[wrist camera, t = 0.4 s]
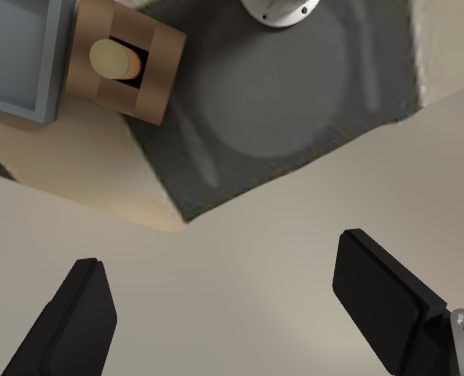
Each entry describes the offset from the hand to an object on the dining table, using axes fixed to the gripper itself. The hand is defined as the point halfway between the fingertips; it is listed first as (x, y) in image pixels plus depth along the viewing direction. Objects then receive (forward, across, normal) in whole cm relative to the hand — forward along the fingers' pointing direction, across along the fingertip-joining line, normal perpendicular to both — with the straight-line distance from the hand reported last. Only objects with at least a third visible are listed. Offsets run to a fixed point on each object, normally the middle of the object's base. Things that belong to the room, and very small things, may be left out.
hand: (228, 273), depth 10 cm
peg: (+33, +9, -9) cm, 36 cm away
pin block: (+33, +9, -9) cm, 36 cm away
